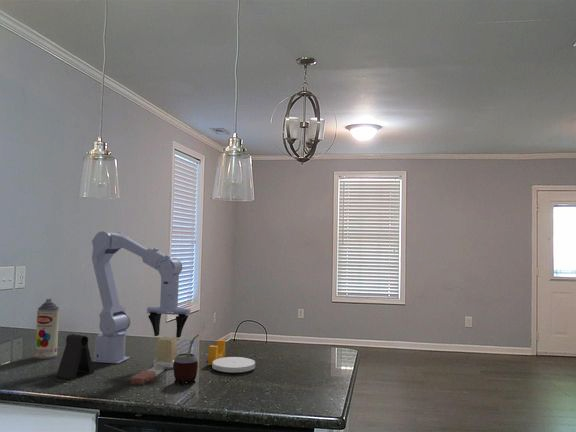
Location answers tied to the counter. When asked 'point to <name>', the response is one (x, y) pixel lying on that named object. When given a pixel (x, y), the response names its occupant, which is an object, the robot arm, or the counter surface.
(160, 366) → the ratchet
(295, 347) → the counter surface
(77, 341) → the phone stand
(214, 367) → the plastic lid
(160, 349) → the tan rectangular block
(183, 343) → the counter surface
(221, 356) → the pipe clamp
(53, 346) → the aerosol can
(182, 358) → the mate gourd
